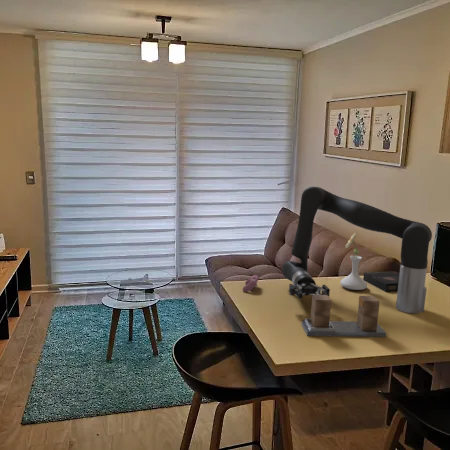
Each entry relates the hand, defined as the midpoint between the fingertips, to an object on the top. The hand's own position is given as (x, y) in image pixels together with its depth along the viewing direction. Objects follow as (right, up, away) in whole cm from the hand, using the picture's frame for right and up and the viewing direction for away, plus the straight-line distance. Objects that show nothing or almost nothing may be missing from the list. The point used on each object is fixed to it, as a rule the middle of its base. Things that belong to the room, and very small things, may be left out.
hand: (313, 296), depth 164 cm
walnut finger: (0, -8, -9) cm, 12 cm away
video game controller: (-20, -2, +31) cm, 37 cm away
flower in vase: (+24, -2, +37) cm, 44 cm away
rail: (+8, -10, -8) cm, 15 cm away
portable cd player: (+42, -2, +44) cm, 61 cm away
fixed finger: (+16, -9, -8) cm, 20 cm away
